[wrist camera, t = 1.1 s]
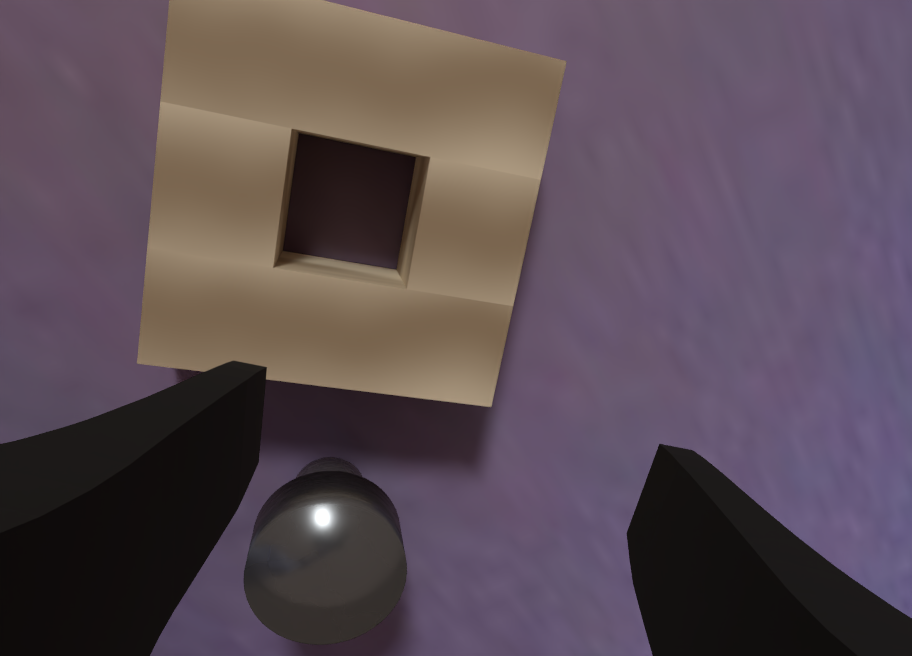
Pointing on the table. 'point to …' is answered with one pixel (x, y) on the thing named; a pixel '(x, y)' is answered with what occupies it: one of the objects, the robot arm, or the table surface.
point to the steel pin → (325, 556)
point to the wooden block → (270, 180)
